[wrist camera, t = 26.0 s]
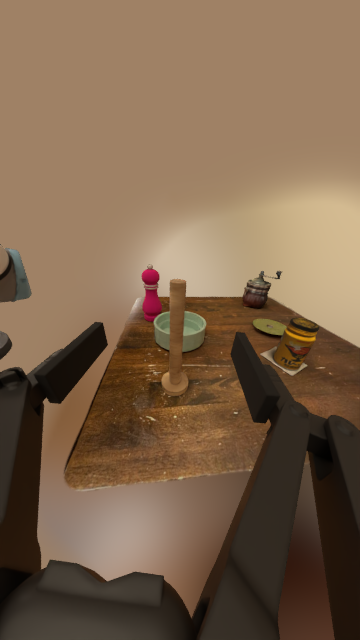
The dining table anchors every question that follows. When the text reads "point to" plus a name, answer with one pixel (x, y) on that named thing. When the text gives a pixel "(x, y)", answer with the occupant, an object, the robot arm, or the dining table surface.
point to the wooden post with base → (176, 341)
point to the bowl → (191, 333)
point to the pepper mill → (151, 294)
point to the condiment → (293, 346)
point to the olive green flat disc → (269, 326)
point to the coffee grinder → (257, 291)
